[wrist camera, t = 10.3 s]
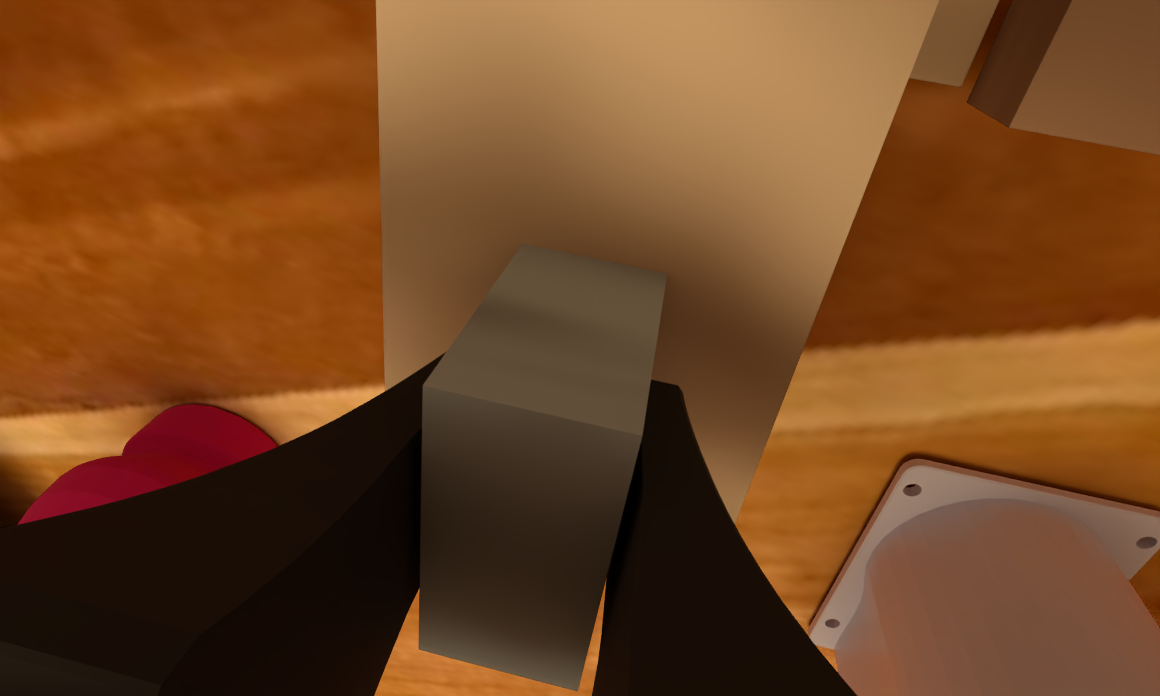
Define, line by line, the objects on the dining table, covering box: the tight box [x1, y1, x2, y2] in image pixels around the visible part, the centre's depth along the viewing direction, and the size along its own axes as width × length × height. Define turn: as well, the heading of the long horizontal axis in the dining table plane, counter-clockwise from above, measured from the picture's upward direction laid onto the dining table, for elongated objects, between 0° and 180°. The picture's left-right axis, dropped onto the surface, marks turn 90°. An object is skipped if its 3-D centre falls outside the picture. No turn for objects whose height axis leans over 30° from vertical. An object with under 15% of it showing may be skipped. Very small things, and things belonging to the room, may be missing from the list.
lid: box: [376, 0, 939, 691], centre depth 9 cm, size 12×8×5 cm, turn 172°
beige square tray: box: [909, 0, 999, 87], centre depth 15 cm, size 12×11×4 cm
